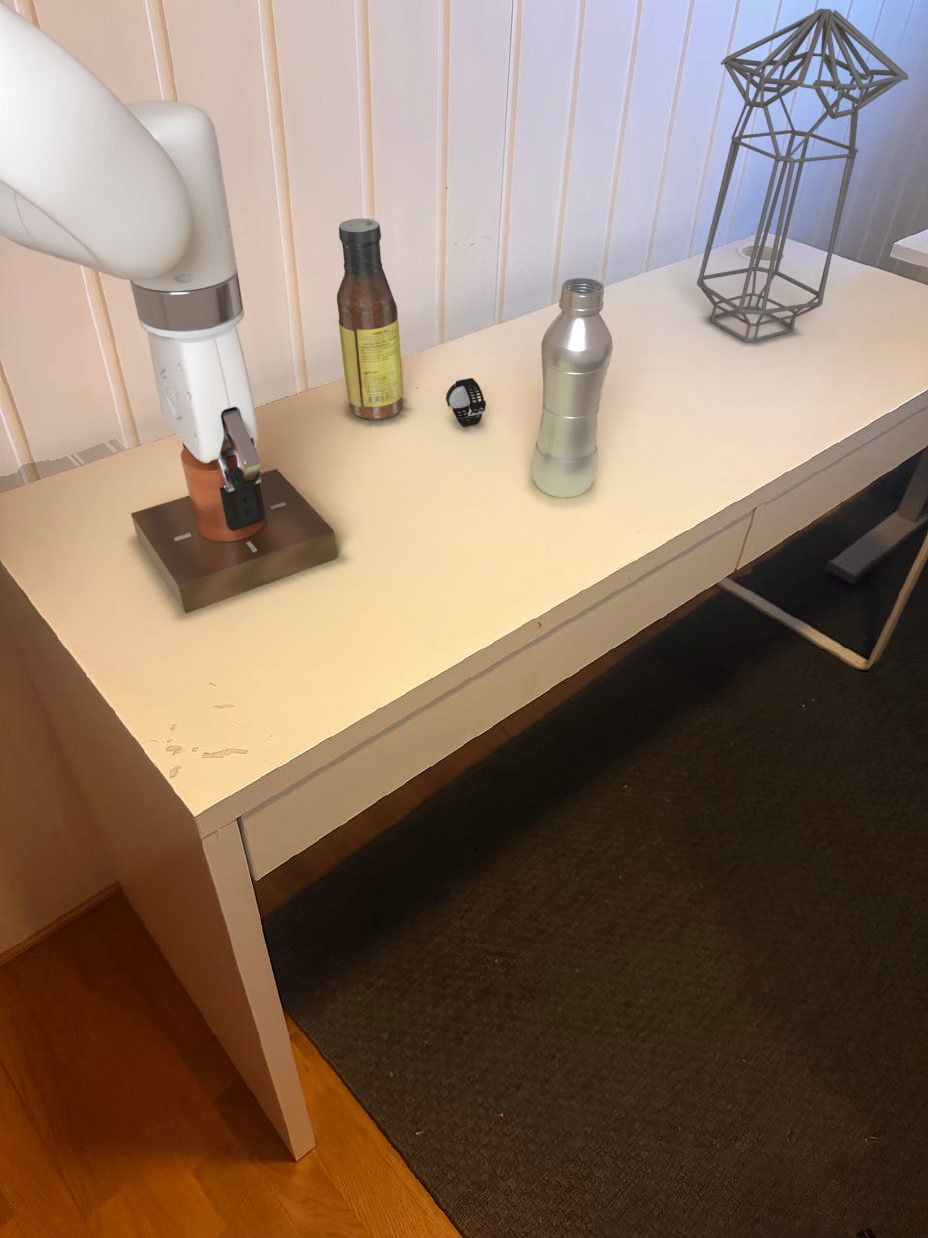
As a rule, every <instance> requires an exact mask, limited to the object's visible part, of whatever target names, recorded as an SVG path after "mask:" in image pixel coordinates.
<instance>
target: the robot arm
mask: <svg viewBox="0 0 928 1238" xmlns="http://www.w3.org/2000/svg"><path fill="white" fill-rule="evenodd" d="M220 153H221V152H220V147H219V141H218V138H217V131H216V128H215V124H214V122H213V121H212V119H211V117H210V115H208V113H207V112H206V111H204V110H203V109H202V108H201V107H199V106H197V105H195V104H191V103H189V102H184V101H179V100H168V99H165V100H164V99H156V100H155V99H154V100H153V99H151V100H139V101H132V102H127V103H124V102H123V101H121V99H120V98H119V97H118V96H117V95H116V94H115V93H114V92H113V90H111V89H110V88H109V87H108V86H107V85H106V84H105V82H103V81H102V80H101V79H100V78H99V77H98V76H97V75H95V73H93V71H91V69H89V68H88V67H87V66H86V65H85V64H83V62H81V61H80V60H79V59H78V58H76V57H75V56H74V55H73V54H72V53H71V52H70V51H68V50H67V49H66V48H65V47H64V46H62V45H61V44H60V43H59V42H57V41H56V40H55V39H54V38H53V37H51V36H49V35H48V34H47V32H45V31H44V30H42V28H39V27H38V26H37V25H35V24H34V23H33V22H31V21H30V20H29V19H28V18H27V17H25V16H24V15H22V14H21V13H19V12H18V11H16V10H15V9H14V8H13V7H11V6H10V5H9V4H7V3H5V2H4V1H3V0H0V236H3V237H4V238H5V239H7V240H9V241H11V242H13V243H15V244H17V245H19V246H21V247H23V248H26V249H28V250H32V251H34V252H38V253H41V254H44V255H47V256H51V257H53V258H56V259H59V260H62V261H67V262H70V263H73V264H75V265H79V266H82V267H85V268H88V269H91V270H93V271H97V272H99V273H102V274H105V275H108V276H111V277H113V278H117V279H120V280H128V281H129V283H130V287H131V292H132V296H133V300H134V304H135V309H136V313H137V317H138V322H139V325H140V327H141V328H142V329H143V330H144V331H146V333H147V338H148V345H149V350H150V357H151V362H152V367H153V373H154V379H155V384H156V390H157V395H158V400H159V406H160V410H161V413H162V416H163V418H164V420H165V422H166V423H167V425H168V426H169V428H170V429H171V430H172V431H173V433H174V434H175V435H176V437H177V438H178V439H179V440H180V441H181V442H182V443H181V444H182V448H183V449H184V447H185V446H186V447H187V449H188V450H189V451H190V452H191V453H192V454H193V455H194V457H195V458H197V459H198V460H199V461H201V462H203V463H210V461H212V460H215V463H216V466H217V468H218V471H219V474H220V477H221V480H222V483H223V486H224V487H221V488H220V493H221V498H222V503H223V509H224V514H225V519H226V524H227V527H228V528H229V529H230V530H231V531H235V530H238V529H241V528H244V527H247V526H250V525H253V524H256V523H259V522H262V521H264V519H265V510H264V504H263V498H262V492H261V485H260V483H261V479H260V475H259V474H261V471H260V469H261V468H262V467H261V466H262V464H261V460H260V457H259V455H258V453H257V450H256V448H257V447H258V444H259V430H258V422H257V416H256V410H255V409H256V408H255V403H254V398H253V392H252V388H251V383H250V378H249V373H248V368H247V364H246V360H245V355H244V351H243V347H242V343H241V339H240V335H239V331H238V327H237V325H238V324H240V322H242V321H243V318H244V316H245V309H244V305H243V297H242V292H241V286H240V285H241V284H240V279H239V271H238V265H237V258H236V253H235V244H234V240H233V239H234V238H233V232H232V226H231V219H230V212H229V205H228V199H227V195H226V194H227V193H226V186H225V179H224V173H223V167H222V161H221V154H220ZM228 441H230V443H231V446H232V449H229V450H225V451H222V452H221V448H222V444H223V443H224V442H228ZM233 456H236V457H237V461H238V464H237V465H238V468H235V469H233V471H232V473H231V475H230V472H229V469H228V466H227V463H226V461H225V459H226V458H230V457H233Z"/></svg>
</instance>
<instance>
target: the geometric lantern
mask: <svg viewBox="0 0 928 1238" xmlns="http://www.w3.org/2000/svg"><path fill="white" fill-rule="evenodd" d="M814 27H815V28H814ZM813 29H814V32H813V35H812V37H811V42H810V45H809V48H808V50H807V51H805V52H802V53H798V54H796V53H797V52H798V51H799V49H800V48H801V47H802V45H803V43H804V42H805V40H806V39H807V37H808V36H809V34H810V33H811V32H812V30H813ZM792 31H793V32H792ZM790 32H792V33H790ZM788 33H790V35H789V36H788V37H787V38H786V39H785V40H784V41H783V42H781V44H779V45H778V46H777V47H776V48H775V49H774V50H773V51H772V52H770V54H769V55H768V56H767V57H766V58H765V59H764V60H763V61H761V60H753V59H745V58H738V57H741V56H742V55H745V54H747V53H748V52H751V51H753V50H755V49H757V48H759V47H761V46H764V45H766V44H767V43H770V42H771V41H774V40H775V39H777V38H780V37H782V36H783V35H786V34H788ZM820 36H821V45H820V46H821V48H820V53H819V52H818V53H817V52H815V50H816V47H817V45H818V42H819V40H820ZM833 37H834V40H835V41H836V44H837V46H838V48H839V50H840V52H841V54H842V56H843V58H844V61H845V62H844V61H841V60H839V59H838V58H836V54H835V47H834V41H833ZM850 37H851V38H850ZM851 39H853V40H854V41H855V42H856V43H858V44H859V45H860V46H861V47H862V48H863V49H865V50H866V51H867V52H868V53H869V54H870V55H872V56H873V57H874V58H875V59H876V60H877V61H879V63H881V64H882V65H884V66H885V67H886V68H887V69H870V67H869V66H868V65H867V63H866V62H865V60H864V59H863V57H862V55H861V53H859V50H857V48H856V46H855V45H854V43H853V42H852V40H851ZM786 48H787V49H786ZM785 49H786V50H785ZM827 49H828V51H827ZM848 49H849V51H850V52H849V51H848ZM784 50H785V51H784ZM783 51H784V52H783ZM782 52H783V54H781V53H782ZM827 52H828V54H827ZM850 53H851V54H852V56H853V57H854V59H855V61H856V62H857V63H858V65H859V67H860V68H861V69H862V71H863V72H864V73H863V72H859V70H858V69H857V68H856V66H855V64H854V61H853V59H852V57H851V55H850ZM780 54H781V56H780V58H779V59H776V58H777V57H778V56H779V55H780ZM813 57H819V58H820V57H821V58H820V63H819V70H818V74H817V79H816V80H814V82H813V83H812V84H806V83H805V79H806V77H807V74H808V71H809V69H810V65H811V62H812V59H813ZM798 60H800V61H799V62H798V63H797V64H796V65H795V67H794V68H793V69H792V70H791V71H790V72H789V73H788V74H787V76H786V77H785V78H784V74H785V72H786V68H787V67H788V65H789V64H790V63H792V62H796V61H798ZM720 65H721V66H723V65H724V68H725V69H726V71H727V73H728V74H729V76H730V77H731V79H732V81H733V83H734V85H735V86H736V88H737V90H738V92H739V93H740V95H741V97H742V99H743V101H744V105H743V107H742V110H741V113H740V115H739V118H738V120H737V123H736V125H735V127H734V131H733V133H732V135H731V138H730V139H731V142H730V146H729V151H728V153H727V159H726V162H725V167H724V170H723V176H722V179H721V183H720V188H719V192H718V196H717V201H716V204H715V207H714V208H715V209H714V211H713V217H712V221H711V225H710V229H709V233H708V236H707V237H708V238H707V240H706V241H707V242H706V245H705V250H704V254H703V259H702V262H701V266H700V270H699V275H698V278H697V281H696V285H697V287H699V288H700V289H701V291H702V292H703V294H704V295H705V296H706V298H707V299H708V301H709V302H710V303H711V304H712V310H711V315H710V317H709V319H710V323H712V324H714V325H716V326H718V327H719V328H721V329H723V331H726V332H728V333H729V334H731V335H733V336H734V337H736V338H738V339H740V340H741V341H743V342H745V343H757V342H759V341H762V340H766V339H770V338H774V337H777V336H781V335H784V334H788V333H792V332H794V328H795V327H794V326H795V322H796V319H797V318H798V317H800V316H802V315H805V314H806V313H809V312H811V311H813V310H815V309H817V308H819V307H821V306H822V305H823V301H824V295H825V290H826V286H827V281H828V276H829V271H830V266H831V262H832V260H831V259H832V256H833V252H834V247H835V243H836V239H837V236H838V232H839V227H840V223H841V218H842V214H843V210H844V207H845V202H846V198H847V195H848V194H847V193H848V190H849V186H850V182H851V177H852V173H853V169H854V164H855V161H856V158H857V157H856V156H857V153H858V152H859V149H858V148H856V141H857V131H858V121H859V111H860V110H861V109H863V108H864V107H865V106H867V105H869V104H870V103H871V102H873V101H875V100H876V99H878V98H879V97H880V96H882V95H883V94H884V93H886V92H887V91H889V90H890V89H893V87H895V86H896V85H898V84H899V83H900V82H902V81H904V80H905V81H908V79H909V75H908V73H907V72H906V71H904V70H903V69H902V68H901V67H900V66H898V64H897V63H895V62H894V61H893V59H891V58H890V57H889V56H888V55H886V53H884V52H883V51H882V49H880V48H879V47H878V46H877V45H875V44H874V43H873V42H872V41H871V40H870V39H869V38H868V37H866V35H865V34H863V33H862V32H861V31H860V30H859V29H858V28H857V27H855V26H854V25H853V24H852V23H851V22H850V21H849V20H848V19H846V18H845V17H844V15H842V14H841V13H840V12H839V11H838V10H836V9H834V10H833V11H832V10H831V8H822V7H821V8H819V9H817V10H816V11H814V12H813V13H810V14H809V15H806V16H805V17H802V18H801V19H799V20H797V21H795V22H794V23H791V24H790V25H787V26H786V27H784V28H782V29H780V30H777V31H776V32H774V33H772V34H770V35H768V36H766V37H764V38H762V39H760V40H757V41H756V42H754V43H752V44H749V45H748V46H747V45H746V47H744V48H741V49H739V50H738V51H735V52H733V53H731V54H729V55H727V56H726V57H724V58H723V60H722V61H721V62H720ZM824 65H825V66H826V69H827V71H828V73H829V75H830V77H831V79H832V80H824V79H822V73H823V68H824ZM749 66H750V67H749ZM751 66H752V67H755V68H752V67H751ZM768 66H769V67H771V69H770V70H769V71H768V73H767V74H765V71H766V68H767V67H768ZM772 66H773V67H772ZM837 66H838V67H839V68H841V69H843V70H845V71H846V72H849V76H850V77H852V78H851V80H850V82H849V83H841V81H840V79H839V75H838V74H839V73H838V67H837ZM780 67H782V68H781V71H780V73H779V77H778V78H772V77H773V76H774V75H775V74H776V72H777V70H779V68H780ZM799 70H800V73H799V75H798V78H797V79H792V78H793V77H794V76H795V75H796V74H797V73H798V71H799ZM736 73H737V74H739V75H740V76H741V77H742V78H743V79H744V80H745V81H746V84H745V85H746V86H745V88H744V86H743V84H742V83H741V81H740V79H739V77H738V76H737V74H736ZM875 76H887V77H885V78H881V79H877V80H874V78H875ZM889 76H890V77H889ZM754 77H757V78H759V80H758V81H757V80H756V79H754ZM862 80H863V81H868V82H866V83H864V82H863V81H862ZM854 83H855V84H854ZM751 85H752V86H753V87H754V88H755V89H756V90H755V92H754V95H753V97H752V99H751V98H750V87H751ZM767 85H776V86H767ZM786 86H787V87H786ZM784 87H785V88H784ZM822 87H827V88H828V87H829V88H830V89H831V90H834V92H837V97H836V99H835V100H834V101H833V102H832V103H831V104H830V103H829V100H828V98H827V96H826V95H825V93H824V91H823V89H822ZM797 88H803V89H813V90H814V91H815V93H816V94H817V96H818V98H819V100H820V101H821V103H822V106H823V108H824V109H825V112H823V114H822V115H821V116H820V117H819V119H817V121H816V122H815V123H814V124H813V126H811V128H810V129H809V130H808V131H802V130H795V127H794V124H793V122H792V119H791V117H790V114H789V112H788V109H787V107H786V104H785V102H784V99H783V97H784V96H786V95H787V94H789V93H791V92H792V91H794V90H795V89H797ZM857 89H858V91H859V94H858V97H856V96H855V95H853V94H850V93H851V91H856V90H857ZM765 93H775V94H774V95H773V96H771V97H770V98H768V99H767V100H765ZM758 97H760V99H759V101H757V100H758ZM843 99H846V100H848V101H849V102H851V108H850V109H845V110H842V111H839V110H840V106H841V105H840V104H841V101H842V100H843ZM777 100H779V101H780V104H781V106H782V109H783V111H784V113H785V116H786V118H787V122H788V124H789V127H790V129H788V130H779V131H775V130H774V126H773V122H772V119H771V114H770V111H769V106H770V105H771V104H773V103H775V102H776V101H777ZM747 107H748V109H747ZM754 108H758V109H762V110H763V113H764V117H765V120H766V124H767V129H768V131H769V132H760V133H749V134H744V133H745V130H746V128H747V124H748V122H749V119H750V117H751V115H752V112H753V110H754ZM746 110H747V112H746ZM745 112H746V115H745V117H744V114H745ZM828 116H829V117H830V118H831V119H832V120H837V119H838V118H842V117H843V118H844V117H847V116H850V128H849V139H848V141H849V142H848V145H847V144H844V143H841V142H838V141H835V140H832V139H830V138H827V137H823V136H821V135H818V134H814V132H815V131H816V130H817V129H818V128H819V127H820V126H821V124H823V122H825V120H826V119H827V118H828ZM743 117H744V120H743ZM742 120H743V122H742ZM740 124H742V125H741V127H740ZM739 127H740V129H739ZM738 129H739V131H738ZM737 132H738V135H737ZM787 134H790V137H789V141H788V144H787V148H786V152H785V155H781V151H780V147H779V144H778V141H777V136H778V135H780V136H781V135H787ZM736 135H737V136H736ZM796 136H797V137H798V136H799V137H804V138H803V139H802V140H801V141H800V142H799V143H798V144H797V145H796V147H795V148H794V149H793V146H794V142H795V139H796ZM761 137H770V139H771V143H772V147H773V150H774V154H772V153H770V152H768V151H765V150H763V149H760V148H758V147H756V146H753V145H751V144H748V143H747V142H743V141H742V139H752V138H761ZM810 138H812V139H815V140H818V141H822V142H824V143H827V144H831V145H833V146H836V147H839V148H842V149H845V150H848V153H845V154H844V153H843V154H835V155H834V154H833V155H824V156H815V157H806V155H807V149H808V147H809V146H808V145H809V142H810ZM802 145H803V146H802ZM740 146H741V147H744V148H747V149H749V150H751V151H754V152H756V153H759V154H761V155H763V156H766V157H768V158H770V159H773V160H774V163H773V166H772V170H771V174H770V178H769V182H768V186H767V190H766V193H765V194H766V195H765V198H764V203H763V205H762V210H761V215H760V219H759V222H758V227H757V231H756V234H755V239H754V243H753V247H752V252H751V255H750V260H749V264H748V267H746V268H739V269H733V270H729V271H722V272H717V273H711V274H705V273H706V270H707V269H706V268H707V265H708V262H709V258H710V255H711V252H712V251H711V250H712V248H713V243H714V240H715V237H716V232H717V229H718V226H719V222H720V219H721V215H722V212H723V208H724V204H725V201H726V197H727V193H728V190H729V187H730V186H729V185H730V183H731V180H732V175H733V172H734V169H735V165H736V160H737V156H738V153H739V150H740ZM801 146H802V150H801V153H800V158H796V159H795V158H794V157H792V156H793V155H795V153H796V152H797V151H798V150H799V149H800V148H801ZM792 149H793V150H792ZM837 159H845V165H844V169H843V173H842V179H841V183H840V189H839V195H838V199H837V203H836V209H835V214H834V218H833V225H832V229H831V234H830V239H829V244H828V249H827V253H826V259H825V263H824V267H823V271H822V275H821V279H820V283H819V288H818V290H816V289H814V288H812V287H810V286H808V285H806V284H804V283H802V282H800V281H799V280H796V279H794V278H792V277H790V276H789V275H787V274H784V273H782V272H781V271H779V269H780V265H781V261H782V256H783V254H784V253H783V251H784V248H785V243H786V240H787V237H788V236H787V235H788V232H789V227H790V223H791V219H792V215H793V210H794V205H795V202H796V199H797V198H796V197H797V193H798V189H799V188H798V187H799V185H800V181H801V176H802V172H803V167H804V163H808V162H815V161H816V162H819V161H828V160H837ZM780 162H782V166H781V170H780V174H779V177H778V180H777V184H776V187H775V192H774V195H773V198H772V202H771V197H772V193H773V190H774V189H773V188H774V185H775V180H776V176H777V171H778V167H779V163H780ZM797 163H798V166H797V169H796V170H797V171H796V175H795V179H794V183H793V188H792V192H791V197H790V201H789V205H788V199H789V195H790V189H791V184H792V180H793V175H794V169H795V164H797ZM788 164H789V165H788ZM787 168H788V171H787V176H786V180H785V185H784V190H783V194H782V195H783V196H782V201H781V206H780V211H779V215H778V220H777V226H776V231H775V236H774V240H773V241H774V242H773V245H772V251H771V256H770V261H769V265H768V266H769V267H768V268H767V267H762V266H760V263H761V259H762V255H763V252H764V249H765V246H766V242H767V238H768V234H769V232H770V228H771V225H772V220H773V217H774V213H775V209H776V206H777V203H778V199H779V195H780V192H781V189H782V185H783V183H784V178H785V175H786V170H787ZM770 202H771V206H770ZM787 205H788V210H787ZM769 206H770V210H769V212H768V209H769ZM786 210H787V213H786ZM767 213H768V216H767ZM785 215H786V219H785ZM766 217H767V221H766ZM784 219H785V222H784ZM765 221H766V223H765ZM783 224H784V225H783ZM764 225H765V228H764ZM783 226H784V227H783ZM782 228H783V229H782ZM763 229H764V231H763ZM782 231H783V232H782ZM762 233H763V235H762ZM781 234H782V235H781ZM761 237H762V238H761ZM760 241H761V242H760ZM757 272H761V273H766V274H767V277H766V283H765V284H764V286H763V288H762V289H761V291H760V292H759V293H756V284H757V283H756V282H757ZM739 274H746V275H745V280H744V283H743V287H742V291H741V295H737V296H734V297H729V298H726V297H724V296H723V295H721V294H719V293H718V292H717V291H715V290H714V289H712V288H710V287H709V286H707V284H706V283H705V280H706V281H707V280H711V279H717V278H723V277H727V276H728V277H729V276H734V275H739ZM752 274H753V275H752ZM752 276H753V277H752ZM776 276H777V277H779V278H781V279H782V280H785V281H786V282H788V283H791V284H793V285H795V286H796V287H798V288H801V289H803V290H805V291H806V292H808V293H811V294H812V295H814V297H813V298H811V299H810V300H809V301H807V302H806V303H799V304H793V305H788V306H786V305H784V304H782V303H780V302H777V301H776V300H773V299H771V298H769V295H770V289H771V283H772V281H773V279H774V277H776ZM751 277H752V287H751V292H749V293H748V290H749V286H750V282H751ZM714 297H715V298H716V299H717V300H718V301H716V299H715V298H714ZM753 297H756V298H757V300H756V303H755V306H753V305H752V300H753ZM746 298H748V302H747V306H745V302H746ZM761 299H762V304H761V307H760V306H759V305H760V302H761ZM737 300H739V304H738V305H737V304H736V303H734V302H733V301H737ZM768 302H769V303H770V304H773V305H775V306H777V307H774V308H773V307H772V308H767V304H768ZM720 304H725V305H727V306H728V307H730V308H731V310H729V309H727V308H724V307H723V306H721V305H720ZM717 309H718V310H721V311H722V312H720V313H716V312H717ZM737 312H738V313H739V314H740V315H741V316H742V317H740V316H739V315H738V314H736V313H737ZM782 312H790V313H792V314H790V315H785V316H782V317H779V316H777V315H775V313H782ZM747 314H748V315H749V314H750V315H759V317H758V319H757V321H756V322H754V323H753V322H750V320H749V318H748V317H747ZM726 315H729V316H730V317H733V318H735V319H736V320H738V321H739V322H741V323H744V325H747V327H746V332H745V337H744V336H742V335H741V334H739V333H737V332H735V331H734V330H733V329H731V328H728V327H727V326H725V325H723V324H722V323H720V322H718V321H717V320H716V318H720V317H723V316H726ZM765 315H767V316H768V317H771V318H772V319H769V320H763V318H764V316H765ZM762 320H763V321H762ZM786 320H790V321H786ZM776 322H780V323H782V324H784V325H785V326H787V327H788V329H784V330H782V331H778V332H774V333H770V334H767V335H763V336H760V337H758V334H759V330H760V326H763V325H767V324H772V323H776ZM751 327H755V332H754V335H753V338H749V335H750V330H751Z"/></svg>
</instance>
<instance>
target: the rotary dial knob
mask: <svg viewBox="0 0 928 1238" xmlns="http://www.w3.org/2000/svg"><path fill="white" fill-rule="evenodd" d="M229 449H232V446H231V443H230V441H228V442H224V443H223V444H222V448H221V452H222V451H225V450H229ZM180 461H181V465H182V469H183V474H184V478H185V482H186V487H187V492H188V496H190V501H191V505H192V510H193V514H194V519H195V523H196V527H197V530H198V532H199V533H200V534H201V535H202V536H204V537H206V538H208V539H211V540H214V541H222V542H228V541H237V540H241V539H245V538H247V537H250V536H252V535H254V534H255V533H257V532H258V531H259V530H260V529H262V527H263V526H264V524H265V522H266V513H265V519H264V521H262V522H259V523H256V524H253V525H250V526H247V527H244V528H241V529H238V530H235V531H231V530H230V529H229V528H228V527H227V524H226V519H225V514H224V509H223V503H222V498H221V493H220V488H221V487H224V486H223V483H222V480H221V477H220V474H219V471H218V468H217V466H216V463H215V460H212V461H210V463H203V462H201V461H199V460H198V459H197V458H195V457H194V455H193V454H192V453H191V452H190V451H189V450H188V449H187V447H186V446H185V447H184V448H183V449H182V450H181V452H180ZM225 461H226V463H227V466H228V469H229V472H230V475H231V473H232V471H233V469H235V468H238V465H237V464H238V461H237V457H236V456H233V457H230V458H226V459H225ZM260 485H261V483H260ZM261 492H262V488H261ZM262 498H263V495H262ZM263 504H264V501H263ZM264 510H265V507H264Z"/></svg>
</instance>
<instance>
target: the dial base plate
mask: <svg viewBox="0 0 928 1238" xmlns="http://www.w3.org/2000/svg"><path fill="white" fill-rule="evenodd" d="M259 475H260V479H261V488H262V495H263V501H264V507H265V513H266V522H265V524H264V526H263V527H262V529H260V530H259V531H258V532H257V533H255V534H254V535H252V536H250V537H247V538H245V539H241V540H237V541H228V542H222V541H214V540H211V539H208V538H206V537H204V536H202V535H201V534H200V533H199V532H198V530H197V527H196V523H195V519H194V514H193V510H192V505H191V501H190V496H189V495H187V496H183V497H179V498H176V499H174V500H173V499H172V500H169V501H166V502H163V503H161V504H157V505H154V506H151V507H146V508H144V509H141V510H138V511H137V510H136V511H135V512H131V513H130V517H131V519H132V523H133V527H134V530H135V534H136V537H137V541H138V543H139V544H140V545H141V547H142V548H143V550H144V552H145V554H146V555H147V556H148V558H149V559H150V561H151V563H152V564H153V566H154V567H155V569H156V570H157V572H158V573H159V575H160V577H161V578H162V580H163V581H164V583H165V584H166V586H167V587H168V589H169V590H170V592H171V594H172V596H173V597H174V598H175V599H176V601H177V603H178V604H179V606H180V607H181V609H182V610H183V612H184V614H187V613H190V612H193V611H197V610H200V609H201V608H204V607H207V606H210V605H213V604H215V603H218V602H221V601H223V600H227V599H229V598H232V597H234V596H238V595H240V594H242V593H245V592H248V591H251V590H253V589H257V588H259V587H262V586H266V585H268V584H270V583H273V582H275V581H279V580H281V579H284V578H286V577H290V576H293V575H295V574H299V573H301V572H302V571H306V570H308V569H312V568H314V567H317V566H321V565H323V564H325V563H328V562H331V561H334V560H336V559H338V554H337V545H336V535H335V534H336V533H335V530H334V529H333V527H331V525H330V524H329V523H328V522H326V520H325V519H324V518H323V517H322V516H321V515H320V514H319V513H318V511H316V509H314V508H313V506H312V505H311V504H310V503H309V502H308V501H307V500H306V499H305V498H304V497H303V496H302V494H301V493H300V492H299V491H298V490H297V488H295V487H294V486H293V484H291V483H290V481H288V479H287V478H286V477H285V476H284V475H283V474H282V473H281V472H280V470H278V468H274V469H271V470H268V471H264V472H260V474H259Z"/></svg>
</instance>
